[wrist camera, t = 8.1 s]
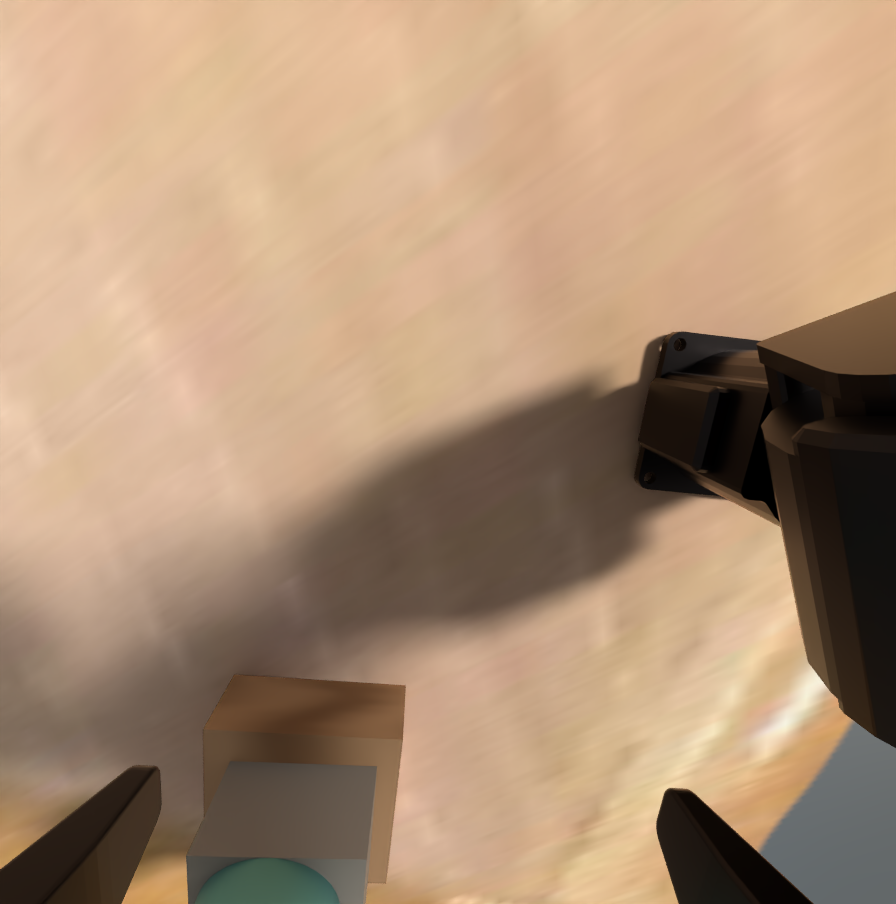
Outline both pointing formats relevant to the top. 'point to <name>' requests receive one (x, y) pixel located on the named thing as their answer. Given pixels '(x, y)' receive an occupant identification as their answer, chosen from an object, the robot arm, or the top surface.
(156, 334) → the top surface
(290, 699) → the walnut base block
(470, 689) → the top surface
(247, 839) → the grey square block
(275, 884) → the teal bullet block
